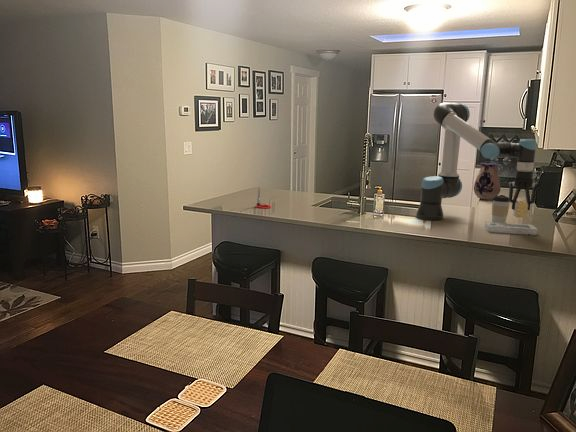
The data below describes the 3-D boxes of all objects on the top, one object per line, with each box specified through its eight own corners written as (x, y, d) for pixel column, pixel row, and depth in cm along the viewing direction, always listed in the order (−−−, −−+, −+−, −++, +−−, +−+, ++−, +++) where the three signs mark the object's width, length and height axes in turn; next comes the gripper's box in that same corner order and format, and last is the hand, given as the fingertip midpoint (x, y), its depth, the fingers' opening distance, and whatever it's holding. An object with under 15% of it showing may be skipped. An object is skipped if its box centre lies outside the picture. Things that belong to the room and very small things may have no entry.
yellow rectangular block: (516, 217, 244) (517, 201, 243) (514, 215, 249) (515, 200, 247) (525, 217, 243) (527, 202, 242) (523, 216, 248) (525, 200, 246)
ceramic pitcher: (469, 199, 339) (473, 163, 333) (477, 195, 356) (480, 161, 350) (496, 202, 329) (500, 165, 324) (502, 197, 346) (506, 163, 341)
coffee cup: (506, 225, 262) (509, 198, 259) (488, 222, 267) (491, 196, 264) (508, 222, 270) (511, 195, 266) (491, 219, 274) (494, 193, 271)
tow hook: (273, 207, 301) (259, 205, 304) (274, 187, 298) (260, 185, 301) (268, 210, 294) (254, 208, 296) (269, 189, 290) (255, 187, 293)
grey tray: (488, 232, 246) (488, 226, 246) (484, 227, 256) (485, 221, 255) (536, 235, 242) (537, 229, 241) (531, 230, 251) (532, 224, 251)
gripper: (507, 170, 239) (503, 216, 244) (546, 171, 236) (540, 218, 241) (504, 169, 247) (499, 213, 251) (541, 170, 243) (536, 215, 248)
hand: (519, 216), depth 246 cm, fingers closed on yellow rectangular block, 4 cm apart
